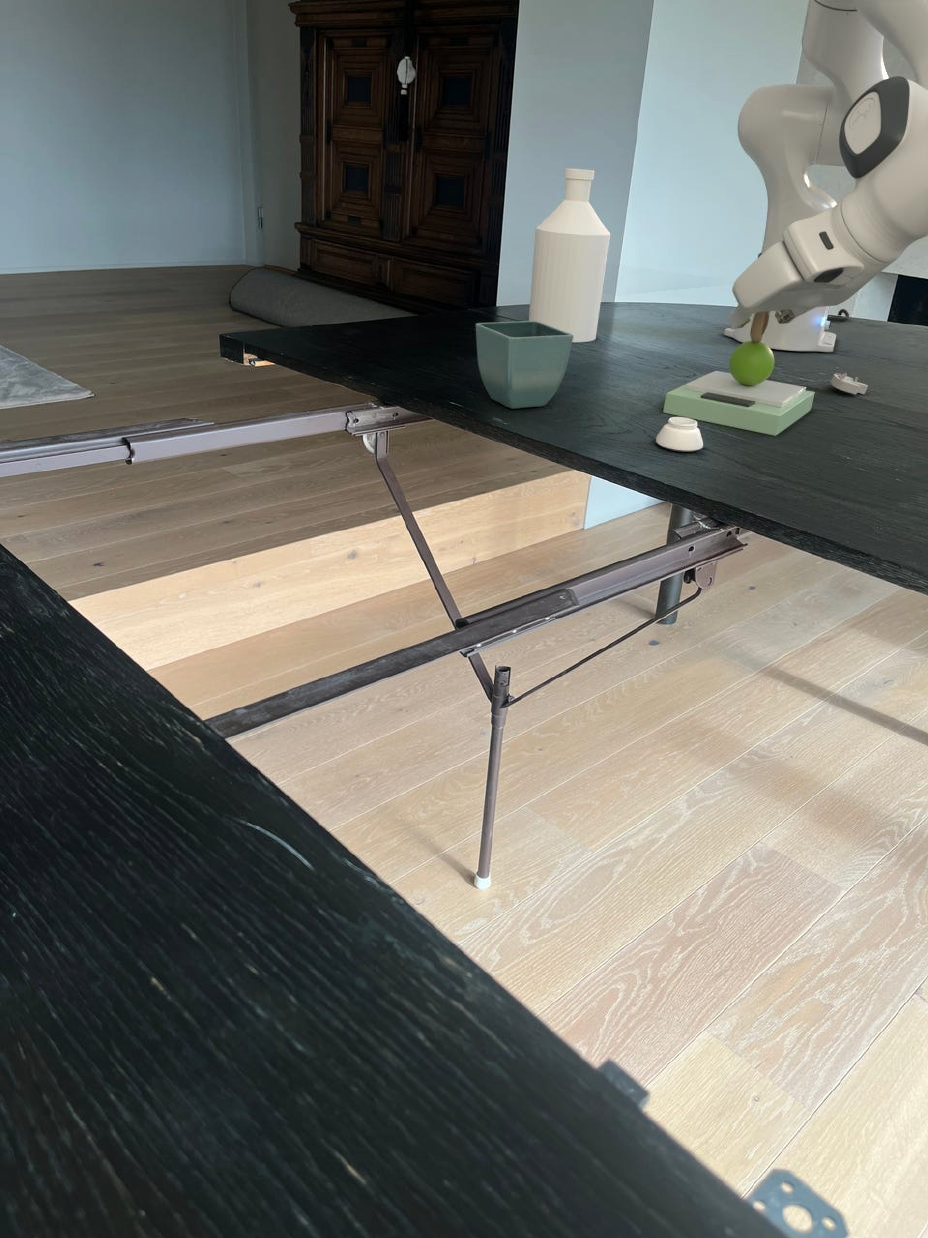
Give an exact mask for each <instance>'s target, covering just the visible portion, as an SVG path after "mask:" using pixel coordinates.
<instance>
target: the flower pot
mask: <svg viewBox="0 0 928 1238" xmlns="http://www.w3.org/2000/svg"><path fill="white" fill-rule="evenodd" d="M573 337H574V335H572V334H570V333H567V332H564V331H561V330H559V329H556V328H553V327H551V326H548V325H546V324H543V323H541V322H537V321H529V320H522V321H521V320H520V321H519V320H518V321H499V322H497V321H496V322H477V323H475V339H476V355H477V365H478V369H479V370H478V371H479V374H480V377H481V380H482V383H483V386H484V388H485V390H486V391H487V393H488V395H489V397H490V399H491V400H493V401H495V402H497V403H499V404H500V405H502V406H504V407H507V409H510V410H515V409H524V408H526V409H527V408H540V407H545V406H546V405H547V404H548V403H549V402H550V401H551V400H552V398H553V397H554V396H555V394H556V393H557V391H558V389H559V388H560V386H561V384H562V382H563V379H564V377H565V374H566V369H567V366H568V362H569V357H570V353H571V348H572V345H573V342H572V341H573Z"/></svg>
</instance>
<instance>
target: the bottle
mask: <svg viewBox="0 0 928 1238" xmlns="http://www.w3.org/2000/svg"><path fill="white" fill-rule="evenodd" d="M563 178H564V179H565V186H564V199H563V200H562V201H561V203H560V204H558V205H557V206H556V208H554V210H553V211H552V212H551V213H550V214H549V215H547V217H546V218H545V219H544V220H543V221H542V222H540V223H539V224H538V225H537V226H536V227H535V233H534V246H533V247H534V248H533V258H532V259H533V260H532V270H531V271H532V272H531V285H530V298H529V310H528V321H537V322H541V323H543V324H546V325H548V326H551V327H553V328H556V329H559V330H561V331H564V332H567V333H570V334H572V335H574V337H573V341H572V343H587V342H594V341H595V340H596V339H597V331H598V324H599V317H600V311H601V303H602V298H603V289H604V282H605V276H606V269H607V263H608V262H607V261H608V254H609V248H610V240H611V233H610V231H609V230H608V228H607V227H606V226H605V224H604V223H603V222H602V221H601V219H600V217H599V216H598V214H597V213H596V211H595V209H594V208H593V206H592V205H591V203H590V195H591V188H592V182H593V181H594V179H595V170H592V169H582V168H569V167H568V168H567V167H566V168H564V175H563Z"/></svg>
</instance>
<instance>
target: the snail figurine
mask: <svg viewBox="0 0 928 1238" xmlns="http://www.w3.org/2000/svg"><path fill="white" fill-rule="evenodd" d="M769 315H770V311H766V312H757V313H756V314H754V318H753V322H752V326H751V331H750V336H751V341H748V342H745V343H743V342H741V344H739V345H738V346H737V347H736V348H735V349H734V350H733V351H732V353H731V354H730V357H729V361H728V368H729V373H731V375H732V376H733V378H734V379H735V380H736V381H737V382H739V383H741V384H743V385H748V386H753V385H757V384H760V383H762V382H763V381H765V380H768V378H769V377H770V376H771V375H772V373H773V370H774V369H775V356H774V353H773V350H772V349H771V348H769V347H768V346H767V345H766V344H764V343H762V342H761V340H762V335H763V334H764V332H765V330H766V328H767V325H768V320H769Z"/></svg>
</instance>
